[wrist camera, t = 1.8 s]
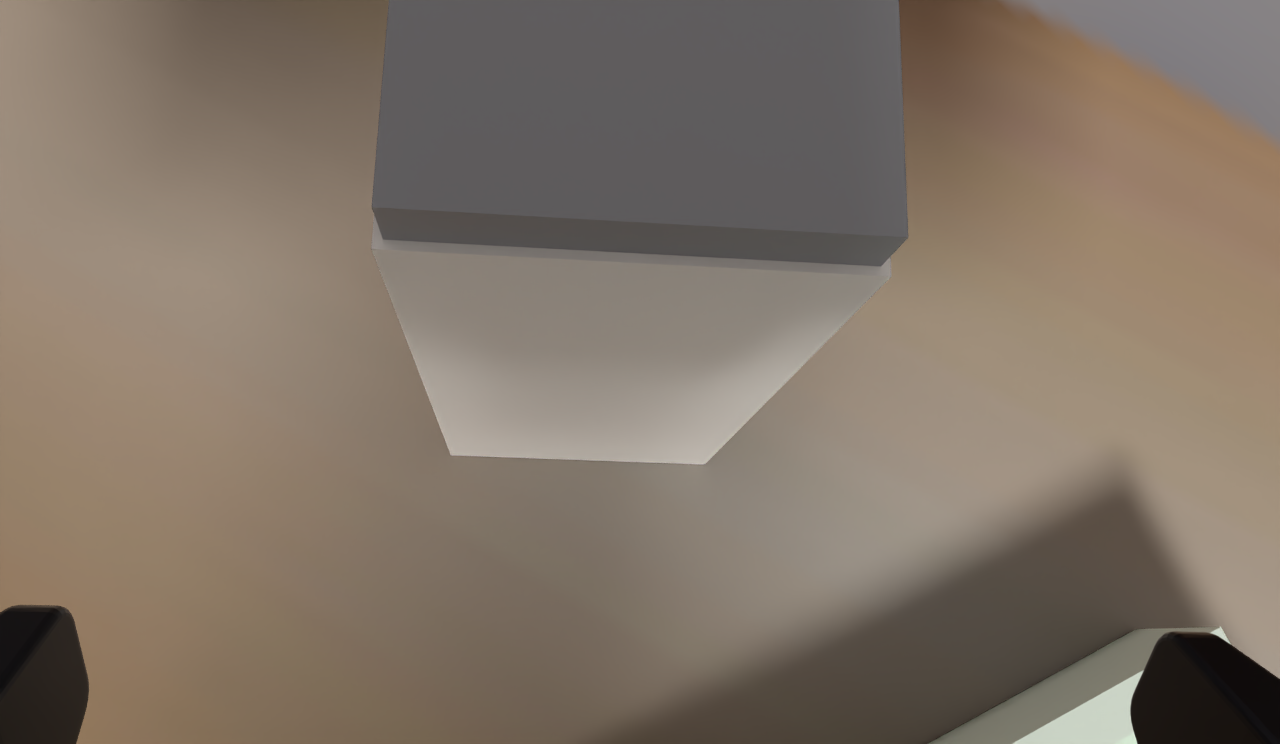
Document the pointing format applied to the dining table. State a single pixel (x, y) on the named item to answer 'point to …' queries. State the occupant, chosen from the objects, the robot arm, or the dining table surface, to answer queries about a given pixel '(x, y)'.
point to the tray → (1073, 700)
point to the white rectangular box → (631, 210)
